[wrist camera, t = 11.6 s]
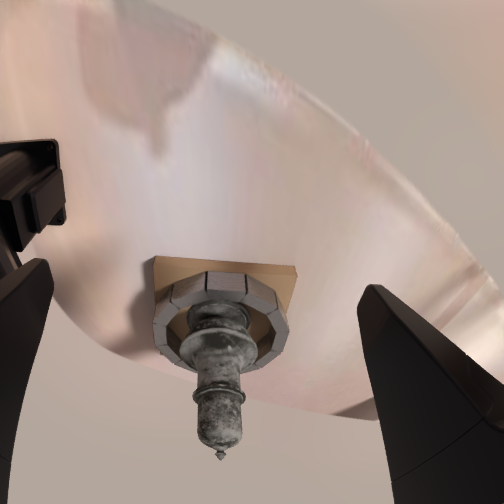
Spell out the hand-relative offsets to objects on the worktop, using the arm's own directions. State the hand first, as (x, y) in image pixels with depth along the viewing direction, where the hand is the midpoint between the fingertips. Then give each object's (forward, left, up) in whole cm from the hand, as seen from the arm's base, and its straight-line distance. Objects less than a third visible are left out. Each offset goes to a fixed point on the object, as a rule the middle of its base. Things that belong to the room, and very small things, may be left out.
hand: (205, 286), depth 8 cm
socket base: (+1, -14, -13) cm, 19 cm away
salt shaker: (+1, -14, -12) cm, 18 cm away
